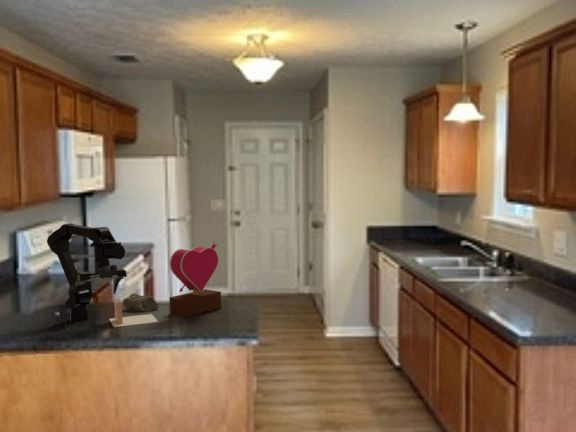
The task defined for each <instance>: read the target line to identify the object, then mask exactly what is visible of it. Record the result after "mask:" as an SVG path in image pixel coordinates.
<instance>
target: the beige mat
mask: <svg viewBox="0 0 576 432" xmlns="http://www.w3.org/2000/svg"><path fill="white" fill-rule="evenodd" d="M108 320H109V321H110V323H111V325H112V327H113V328H117V327H118V328H119V327H125V326H136V325H142V324H151V323H159V321H158V319H157V318H156V317H155V316H154V315H153V314H152V313H150V314H141V315H140V314H139V315H132V316H122V320H123V324H117V322H116V321H115V317H113V318H109V319H108Z"/></svg>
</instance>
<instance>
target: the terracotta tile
mask: <svg viewBox="0 0 576 432" xmlns="http://www.w3.org/2000/svg"><path fill="white" fill-rule="evenodd" d="M113 303H114V318H115V321H116V322H117V324H123V320H122V317H123V301H121V299H120V298H114V299H113Z"/></svg>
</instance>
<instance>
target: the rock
mask: <svg viewBox="0 0 576 432" xmlns="http://www.w3.org/2000/svg"><path fill="white" fill-rule="evenodd" d="M122 305H123V306H124V307H125V309H126V310H128V311H139V312H143V313H147V312H152V311H155V310H158V309H159V305H158V303H157V301H156V300H155V299H154V298H153V296H151V295H146V294H145V295H140V294H138V293H131V294H130V295H129V296H128V297H125V298H124V299H123V300H122Z"/></svg>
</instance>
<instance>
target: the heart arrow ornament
mask: <svg viewBox="0 0 576 432" xmlns="http://www.w3.org/2000/svg"><path fill="white" fill-rule="evenodd" d="M217 246H218V243H216V242H213V244H212V245H211V247H204V246H203V247H202V246H195V247H193V248H191V249H190V250H189V249H182V248H179V249H176V250H175V251H173V253H172V255H171V257H170V259H169V267H170V271H171V273H172V274H173V276H175V277H176V278H177V279H178V281H180V283H182V284H183V286H182V287H180V289H179V294H178V295H174V296H169V297H168V299H169V314H170V315H171V316H177V317H182V318H188V317H192V316H193V317H194V316H196V314H197V315H200V314H199V313H201V314H203V313H202V312H205V313H207V312H206V311H208V312H211V311H210V310H212V311H214V310H213V309H216V310H219V309H218V308H220V309H222V308H223V307H222V295H221V294H222V292H221V291H218V290H212V289H208V288H207V289H205V288H206V286H207V284H208V283H209V281H210V280H211V278H212V276H213V275H214V273H215V272H216V270H217V267H218V265H219V256H218V255H219V254H218V252H217V251H216V247H217ZM185 287H186V288H187V289H188V291H190V292H188V293H183V294H180V293H181V292H183V291H184V288H185Z"/></svg>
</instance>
